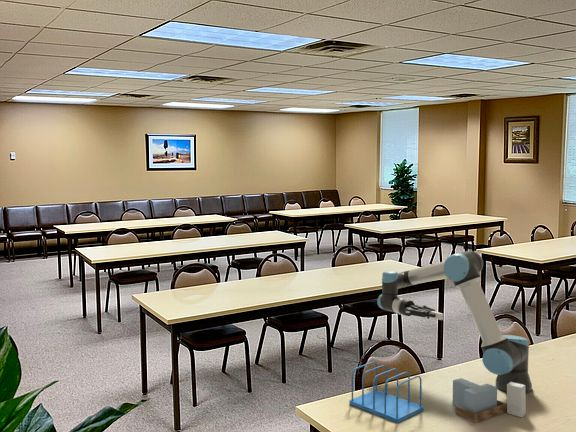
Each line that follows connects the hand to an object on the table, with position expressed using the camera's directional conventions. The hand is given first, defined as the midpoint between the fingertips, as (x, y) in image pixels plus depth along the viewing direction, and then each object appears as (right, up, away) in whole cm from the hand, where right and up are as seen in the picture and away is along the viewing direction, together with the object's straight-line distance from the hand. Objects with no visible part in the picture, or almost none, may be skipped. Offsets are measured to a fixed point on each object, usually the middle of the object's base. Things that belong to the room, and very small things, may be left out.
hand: (442, 316), depth 258 cm
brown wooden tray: (+8, -34, -24) cm, 43 cm away
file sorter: (-28, -34, -19) cm, 48 cm away
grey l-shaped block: (+6, -34, -21) cm, 40 cm away
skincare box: (+22, -34, -27) cm, 49 cm away
